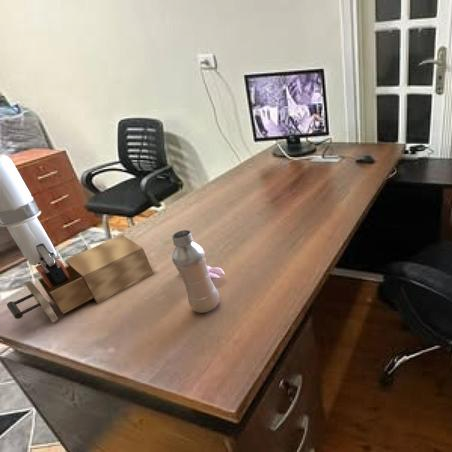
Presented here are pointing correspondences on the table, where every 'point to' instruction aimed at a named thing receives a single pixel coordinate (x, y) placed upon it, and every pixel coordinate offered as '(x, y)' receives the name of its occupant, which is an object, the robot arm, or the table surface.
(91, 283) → the cabinet
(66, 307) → the drawer
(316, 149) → the table surface
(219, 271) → the rabbit figure
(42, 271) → the block
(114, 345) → the table surface
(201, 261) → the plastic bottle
